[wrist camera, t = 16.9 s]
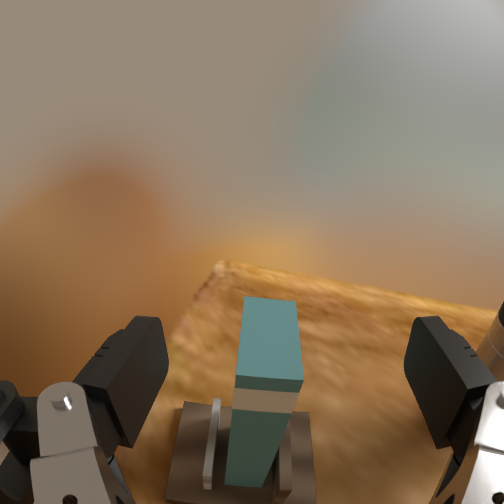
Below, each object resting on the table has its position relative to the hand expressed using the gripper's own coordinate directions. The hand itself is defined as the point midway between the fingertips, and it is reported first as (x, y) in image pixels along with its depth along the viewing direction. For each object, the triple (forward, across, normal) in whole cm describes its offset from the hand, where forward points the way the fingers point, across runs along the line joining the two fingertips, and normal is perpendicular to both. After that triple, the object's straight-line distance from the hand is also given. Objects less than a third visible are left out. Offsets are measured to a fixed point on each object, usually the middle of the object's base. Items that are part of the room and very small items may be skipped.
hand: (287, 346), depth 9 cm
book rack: (+14, +4, +27) cm, 31 cm away
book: (+13, +4, +26) cm, 29 cm away
